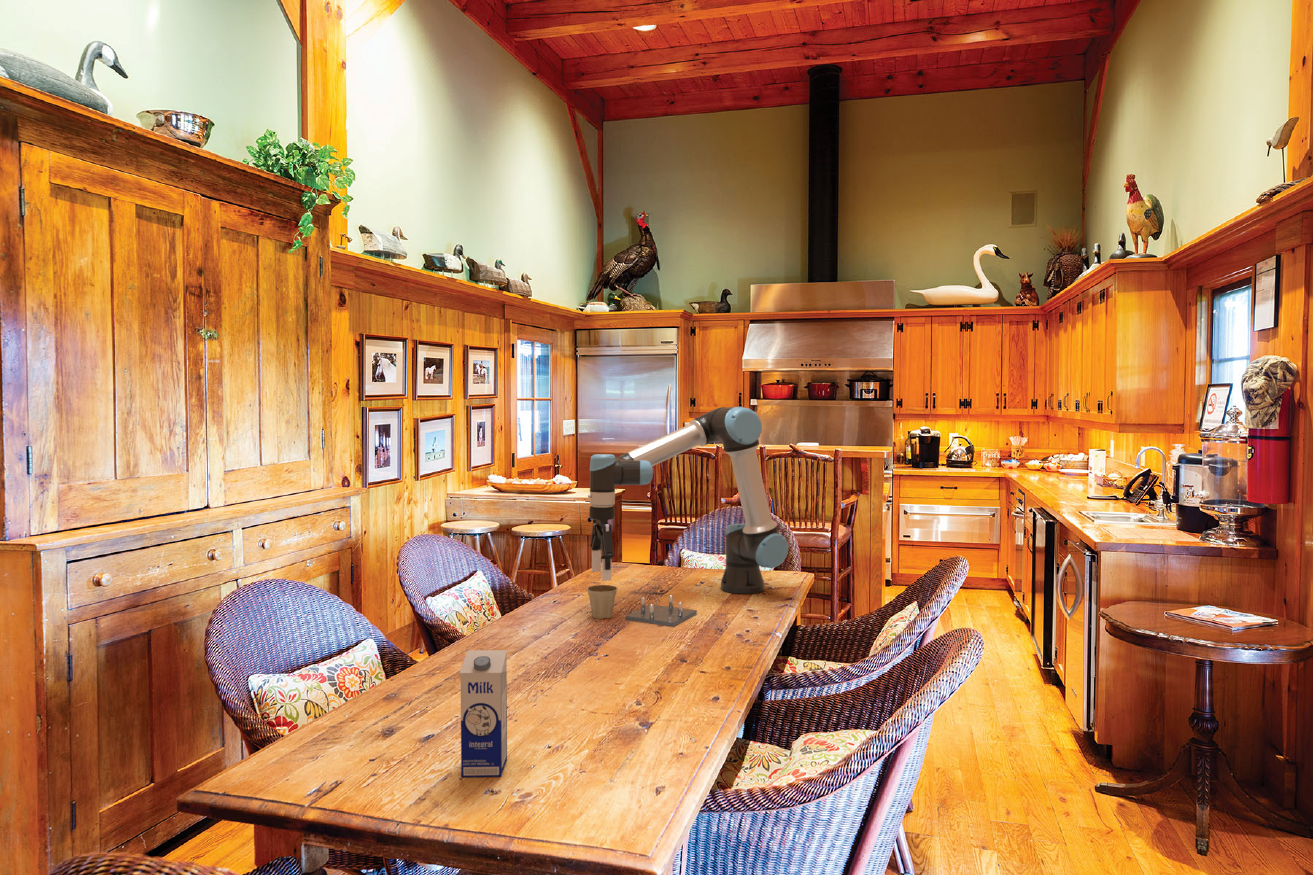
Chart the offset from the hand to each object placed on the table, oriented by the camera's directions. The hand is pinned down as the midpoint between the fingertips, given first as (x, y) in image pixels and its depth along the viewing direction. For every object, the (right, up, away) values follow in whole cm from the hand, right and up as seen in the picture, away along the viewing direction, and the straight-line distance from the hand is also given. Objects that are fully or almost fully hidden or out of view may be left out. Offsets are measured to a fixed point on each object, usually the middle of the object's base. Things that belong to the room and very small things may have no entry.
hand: (601, 575), depth 239 cm
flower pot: (0, -13, +1) cm, 13 cm away
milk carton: (-13, -16, -101) cm, 103 cm away
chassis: (+18, -12, 0) cm, 22 cm away
